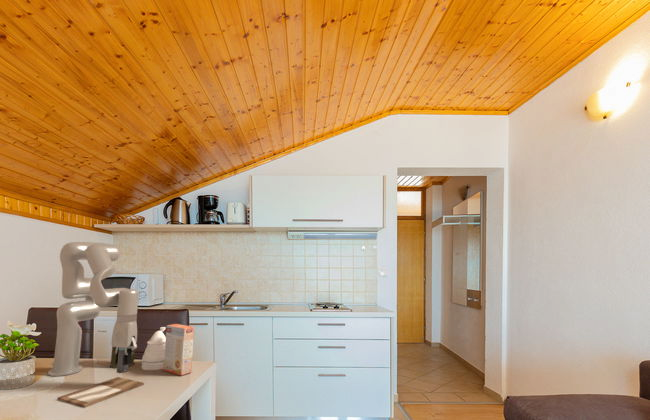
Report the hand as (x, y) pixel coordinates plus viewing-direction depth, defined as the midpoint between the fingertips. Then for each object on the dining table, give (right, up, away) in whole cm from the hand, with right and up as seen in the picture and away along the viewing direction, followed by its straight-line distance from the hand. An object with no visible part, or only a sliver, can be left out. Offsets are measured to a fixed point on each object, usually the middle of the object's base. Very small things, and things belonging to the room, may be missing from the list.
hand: (123, 363), depth 143 cm
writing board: (-3, -8, -8) cm, 12 cm away
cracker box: (+16, -12, +16) cm, 25 cm away
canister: (-15, -12, +25) cm, 32 cm away
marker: (0, -3, 0) cm, 3 cm away
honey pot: (+2, -13, +24) cm, 27 cm away
